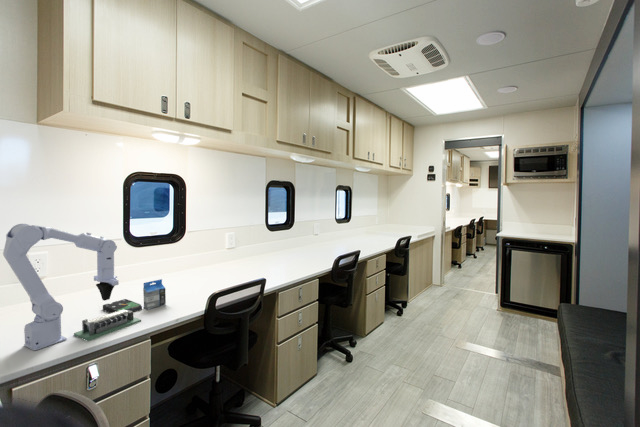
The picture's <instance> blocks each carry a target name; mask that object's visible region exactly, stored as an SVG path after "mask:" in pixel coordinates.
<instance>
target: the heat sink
mask: <svg viewBox="0 0 640 427" xmlns="http://www.w3.org/2000/svg"><path fill="white" fill-rule="evenodd" d="M81 321H82V322H81V325H82V326H81V327H82V330H81V331H83V333H85V332H88V331H89V335H90V336H91V335H94V334H99V333H102V332H104V331H107V330H110V329H113V328H115V327H118V326H121V325H123V324H126V323H127V315H125V314H122V315H119V316H116V317H113V318H110V319H107V320H104V321H101V322H98V323H95V324H94V322H91V323H89V325H86V324H84V322H85V321H89V320H88V319H86V318H85V319H83V320H81Z"/></svg>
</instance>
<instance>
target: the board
mask: <svg viewBox="0 0 640 427" xmlns="http://www.w3.org/2000/svg"><path fill="white" fill-rule="evenodd" d="M127 311H128V316H127V323H126V324H123V325H121V326H118V327H115V328H113V329H110V330H107V331H104V332H102V333H99V334H94V335H91V336H90V335H89V331H88V332H85V333H83V331H82V330H80V331H75V332H74V333H73V336H75V337H77V336H78V337H77V338H79V337H80V338H79V339H82V338H83V339H82V340H84V339H85V340H84V341H86V340H87V342H90V341H93V340H95V339H98V338H101V337H103V336H107V335H109V334H111V333H114V332H117V331H119V330H122V329H124V328H127V327H130V326H132V325H136V324H138V323H140V322H142V319H141V318H139V317H135V316H134V312H133V311H130V310H127Z"/></svg>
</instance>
